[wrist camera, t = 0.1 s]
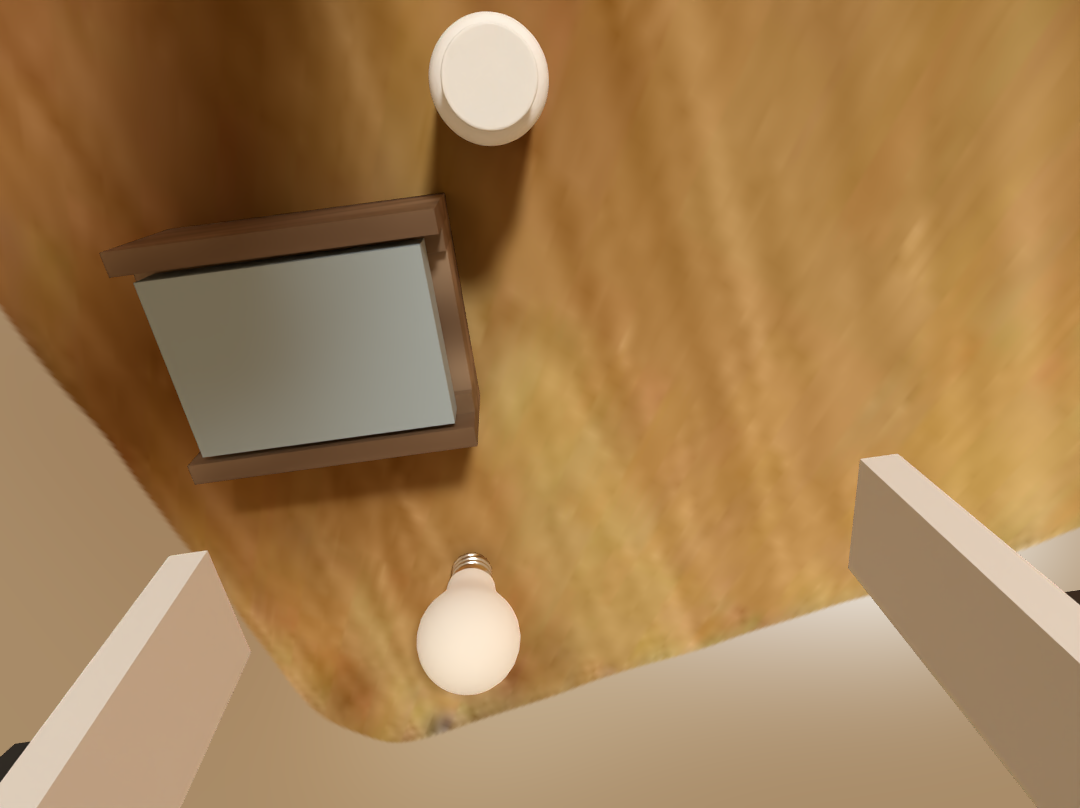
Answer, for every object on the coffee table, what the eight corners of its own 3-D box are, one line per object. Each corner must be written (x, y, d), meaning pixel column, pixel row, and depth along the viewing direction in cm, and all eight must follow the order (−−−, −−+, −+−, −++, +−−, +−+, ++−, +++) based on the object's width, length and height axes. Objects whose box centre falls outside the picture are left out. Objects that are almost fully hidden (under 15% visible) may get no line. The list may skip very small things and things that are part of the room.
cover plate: (153, 273, 32) (133, 283, 30) (423, 238, 32) (419, 244, 30) (217, 440, 36) (202, 457, 34) (456, 407, 36) (454, 423, 35)
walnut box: (168, 229, 36) (99, 252, 30) (444, 192, 36) (433, 208, 30) (240, 428, 41) (194, 484, 35) (480, 396, 42) (477, 445, 35)
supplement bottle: (486, 162, 36) (483, 177, 27) (418, 81, 34) (391, 68, 25) (559, 94, 35) (581, 86, 26) (492, 5, 33) (492, -37, 24)
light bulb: (456, 511, 45) (445, 622, 35) (533, 548, 47) (543, 664, 37) (412, 574, 47) (390, 696, 37) (487, 608, 49) (485, 732, 39)
